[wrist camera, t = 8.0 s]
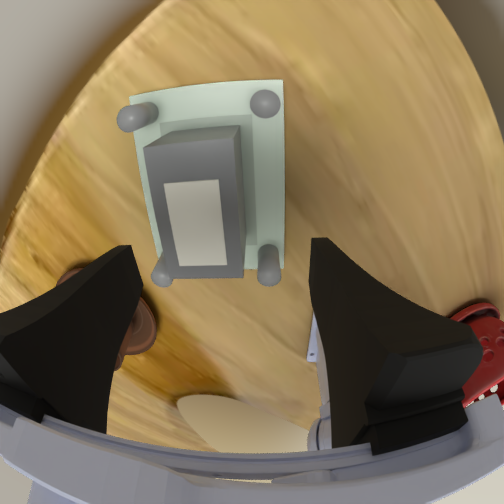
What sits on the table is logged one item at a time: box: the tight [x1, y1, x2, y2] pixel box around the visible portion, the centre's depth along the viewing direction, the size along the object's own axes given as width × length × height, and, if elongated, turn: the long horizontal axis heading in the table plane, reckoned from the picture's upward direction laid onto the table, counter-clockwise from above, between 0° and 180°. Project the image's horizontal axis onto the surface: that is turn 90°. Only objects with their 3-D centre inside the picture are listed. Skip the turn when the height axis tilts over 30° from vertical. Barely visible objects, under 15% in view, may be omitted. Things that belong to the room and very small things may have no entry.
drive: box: [143, 125, 247, 279], centre depth 17 cm, size 8×4×5 cm, turn 3°
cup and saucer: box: [56, 268, 157, 371], centre depth 25 cm, size 12×12×6 cm
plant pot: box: [450, 303, 504, 409], centre depth 24 cm, size 13×13×12 cm
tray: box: [117, 80, 285, 287], centre depth 18 cm, size 14×10×4 cm
